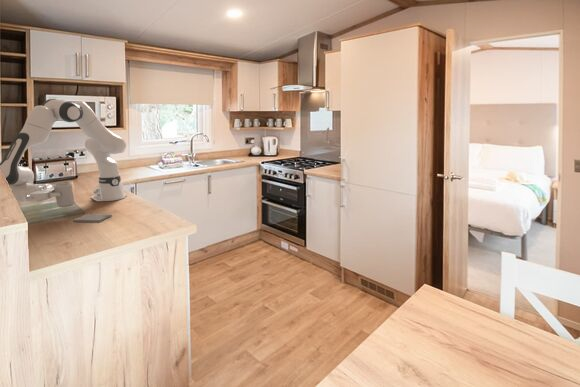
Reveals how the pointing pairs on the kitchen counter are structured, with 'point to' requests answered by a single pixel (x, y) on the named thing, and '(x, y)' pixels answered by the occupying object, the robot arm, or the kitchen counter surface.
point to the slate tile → (92, 218)
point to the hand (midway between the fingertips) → (65, 192)
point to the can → (64, 194)
